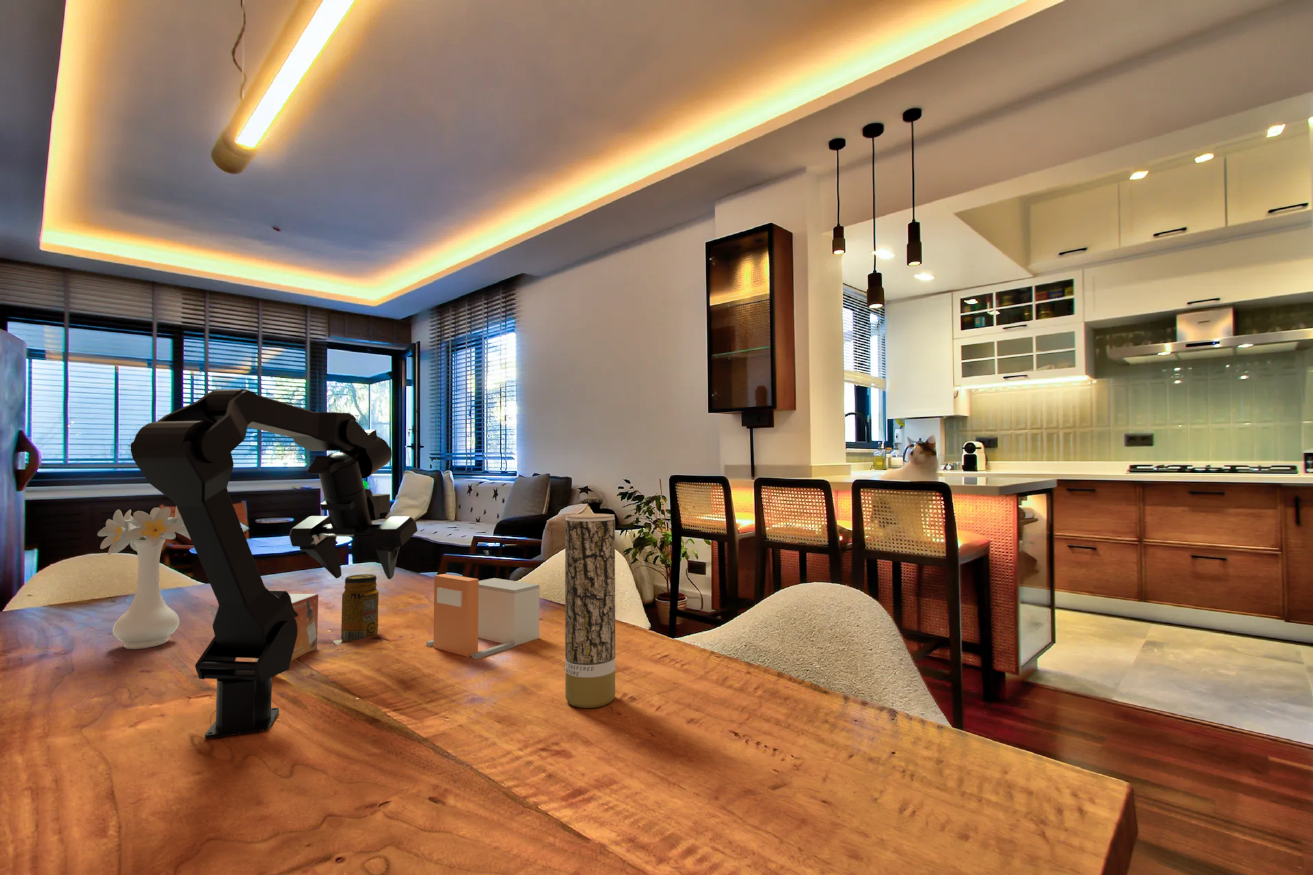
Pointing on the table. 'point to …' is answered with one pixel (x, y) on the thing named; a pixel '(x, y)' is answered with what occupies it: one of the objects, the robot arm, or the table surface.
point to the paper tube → (589, 609)
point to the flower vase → (144, 574)
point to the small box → (305, 623)
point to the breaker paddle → (456, 614)
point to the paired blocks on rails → (506, 614)
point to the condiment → (359, 608)
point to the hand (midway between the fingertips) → (364, 577)
